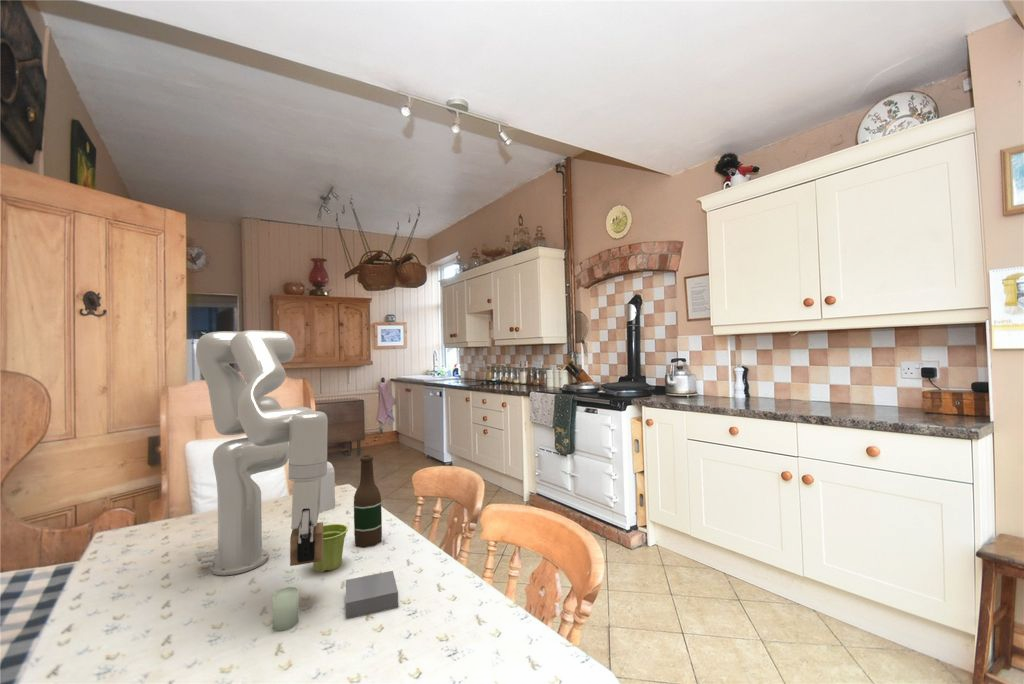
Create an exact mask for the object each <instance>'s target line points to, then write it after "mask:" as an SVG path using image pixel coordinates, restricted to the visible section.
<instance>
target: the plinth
mask: <svg viewBox="0 0 1024 684" xmlns="http://www.w3.org/2000/svg"><path fill="white" fill-rule="evenodd" d="M394 573H395V572H394V571H393V570H389V571H385V572H378V573H374V574H368V575H365V576H364V575H363V576H359V577H355V578H354V577H353V578H350V579H349V578H348V579H345V617H346V620H347V619H351V618H356V617H359V616H364V615H367V614H368V615H369V614H372V613H377V612H378V613H379V612H381V611H385V610H387V611H388V610H390V609H391V610H392V609H395V608H398V607H399V591H398V590H399V589H398V586H397V582H396V578H395V574H394Z"/></svg>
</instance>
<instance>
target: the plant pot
mask: <svg viewBox="0 0 1024 684" xmlns="http://www.w3.org/2000/svg"><path fill="white" fill-rule="evenodd" d="M348 531H349V528H348V526H347V525H345V524H343V523H342V524H341V523H331V524H330V523H329V524H323V553H322V561H321V562H314V563H313V565H314V570H315V571H317V572H325V571H333V570H335V569H337V568H338V569H339V567H340V566H341V564H342V561H343V551H344V543H345V538H346V536H347V535H346V534H347V532H348Z"/></svg>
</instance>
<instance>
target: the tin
mask: <svg viewBox="0 0 1024 684" xmlns="http://www.w3.org/2000/svg"><path fill="white" fill-rule="evenodd" d="M298 623H299V589H298V588H297V587H295V586H287V587H283V588H280V589H279V590H276V591H275V592H274V593H273V594H272V629H273V631H276V632H284V631H288V630H291V629H292V628H294V627H295V626H297V625H298Z"/></svg>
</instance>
